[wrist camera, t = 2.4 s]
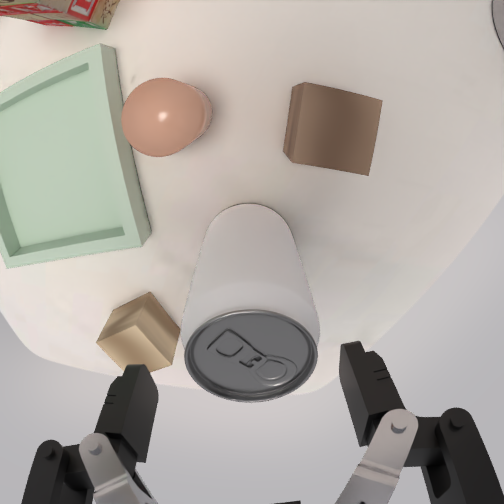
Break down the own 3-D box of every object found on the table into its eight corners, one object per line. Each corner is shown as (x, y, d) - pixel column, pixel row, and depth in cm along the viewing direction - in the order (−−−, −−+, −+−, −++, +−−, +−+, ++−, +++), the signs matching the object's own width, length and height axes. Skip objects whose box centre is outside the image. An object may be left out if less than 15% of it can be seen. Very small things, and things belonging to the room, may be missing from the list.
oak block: (150, 291, 25) (135, 325, 21) (180, 328, 27) (171, 365, 23) (113, 309, 26) (95, 342, 22) (143, 344, 28) (131, 378, 24)
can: (253, 295, 25) (258, 421, 15) (187, 248, 24) (147, 366, 13) (310, 238, 23) (357, 352, 13) (242, 183, 21) (240, 269, 11)
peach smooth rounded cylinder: (207, 80, 18) (192, 69, 13) (216, 136, 20) (205, 148, 15) (149, 92, 18) (115, 89, 13) (159, 147, 20) (129, 164, 15)
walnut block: (356, 100, 19) (382, 100, 15) (345, 161, 21) (368, 175, 17) (292, 87, 19) (304, 82, 15) (282, 151, 21) (292, 162, 17)
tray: (115, 48, 17) (100, 43, 14) (151, 232, 23) (142, 246, 21) (-17, 112, 17) (-35, 116, 15) (21, 255, 23) (7, 268, 21)
